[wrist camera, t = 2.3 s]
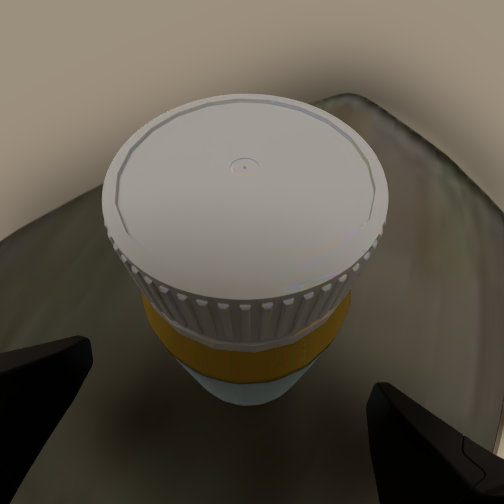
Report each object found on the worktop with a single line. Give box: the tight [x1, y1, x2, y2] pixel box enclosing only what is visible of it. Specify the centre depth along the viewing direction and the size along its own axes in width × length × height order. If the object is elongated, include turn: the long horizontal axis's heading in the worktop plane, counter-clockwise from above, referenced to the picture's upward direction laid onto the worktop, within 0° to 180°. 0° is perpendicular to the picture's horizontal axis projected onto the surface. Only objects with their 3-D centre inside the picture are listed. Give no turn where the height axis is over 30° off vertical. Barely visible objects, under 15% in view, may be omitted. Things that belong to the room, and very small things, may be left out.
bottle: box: [102, 94, 388, 406], centre depth 13 cm, size 7×7×15 cm
